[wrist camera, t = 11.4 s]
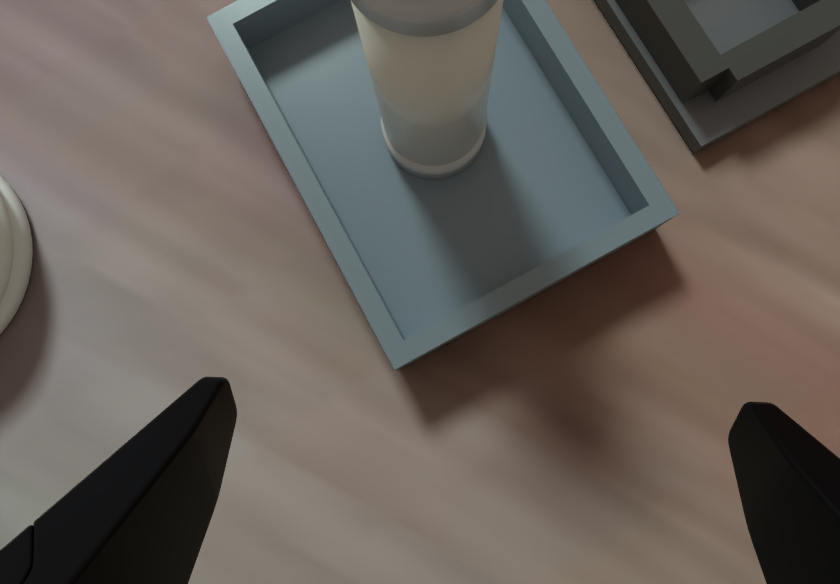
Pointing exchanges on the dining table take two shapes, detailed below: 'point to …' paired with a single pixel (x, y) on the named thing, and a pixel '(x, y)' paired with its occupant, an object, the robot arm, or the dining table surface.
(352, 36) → the parts tray
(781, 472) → the robot arm
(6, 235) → the white round disc
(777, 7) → the grey piece
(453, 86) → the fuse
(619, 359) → the dining table surface
